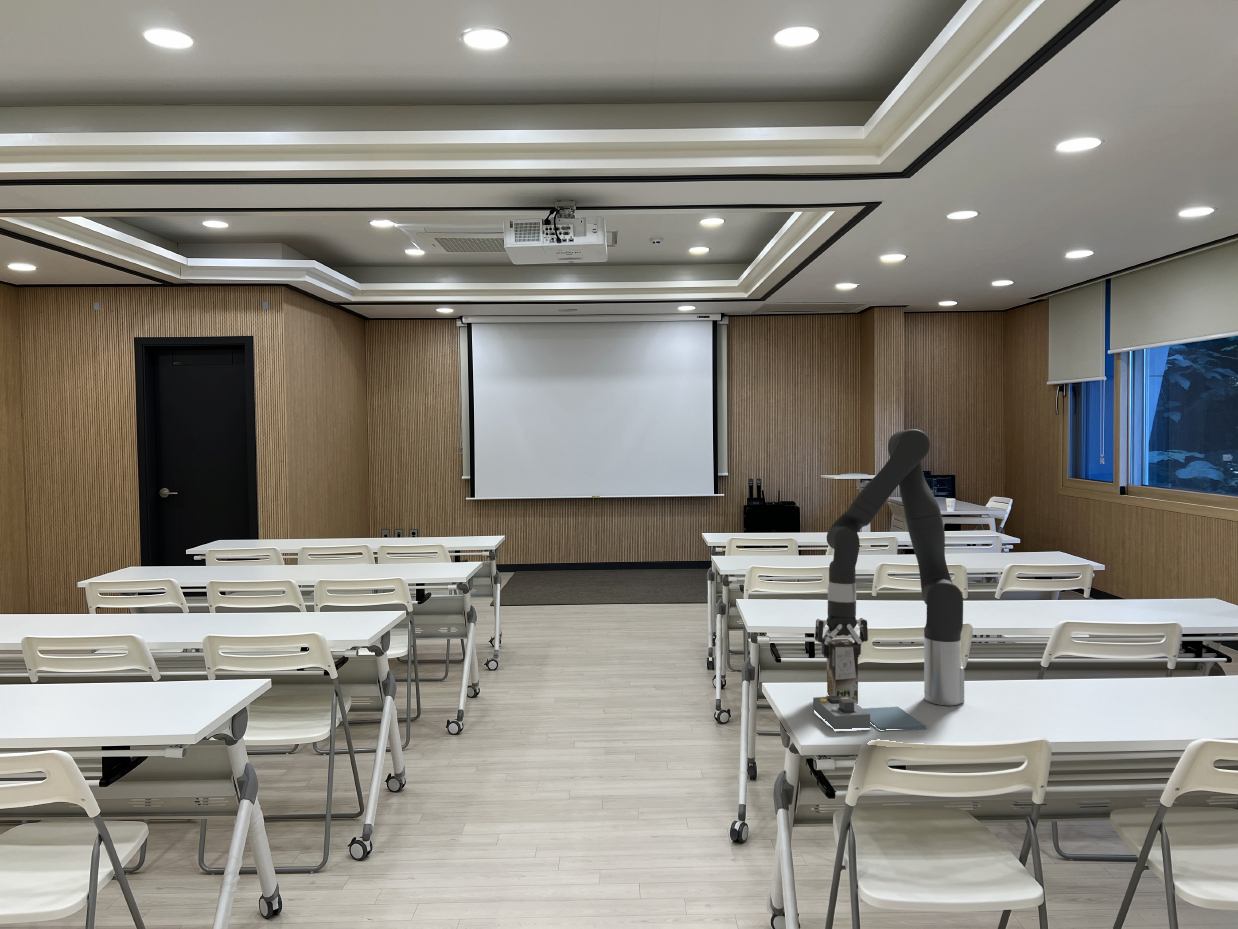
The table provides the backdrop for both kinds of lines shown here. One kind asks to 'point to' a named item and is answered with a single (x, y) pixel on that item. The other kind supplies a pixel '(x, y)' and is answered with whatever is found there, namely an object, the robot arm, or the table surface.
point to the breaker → (846, 705)
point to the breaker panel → (841, 714)
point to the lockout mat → (893, 718)
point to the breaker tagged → (833, 699)
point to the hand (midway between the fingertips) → (841, 657)
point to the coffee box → (842, 669)
